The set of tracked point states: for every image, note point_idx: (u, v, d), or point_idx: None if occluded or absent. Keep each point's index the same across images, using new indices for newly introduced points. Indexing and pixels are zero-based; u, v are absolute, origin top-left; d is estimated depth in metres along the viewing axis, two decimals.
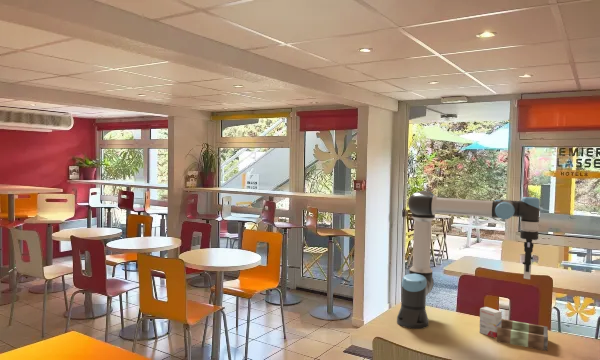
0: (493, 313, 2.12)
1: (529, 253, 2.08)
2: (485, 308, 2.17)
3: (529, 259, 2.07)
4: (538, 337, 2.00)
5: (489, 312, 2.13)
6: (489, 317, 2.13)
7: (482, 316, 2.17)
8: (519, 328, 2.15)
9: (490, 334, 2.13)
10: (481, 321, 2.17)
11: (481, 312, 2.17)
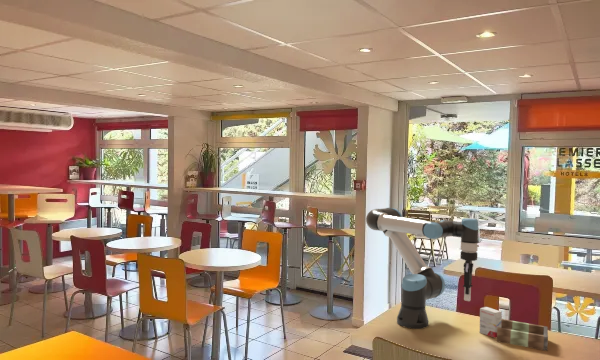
0: (493, 313, 2.12)
1: (468, 278, 2.15)
2: (485, 308, 2.17)
3: (468, 283, 2.16)
4: (538, 337, 2.00)
5: (489, 312, 2.13)
6: (489, 317, 2.13)
7: (481, 316, 2.17)
8: (519, 328, 2.15)
9: (490, 334, 2.13)
10: (481, 321, 2.17)
11: (481, 312, 2.17)
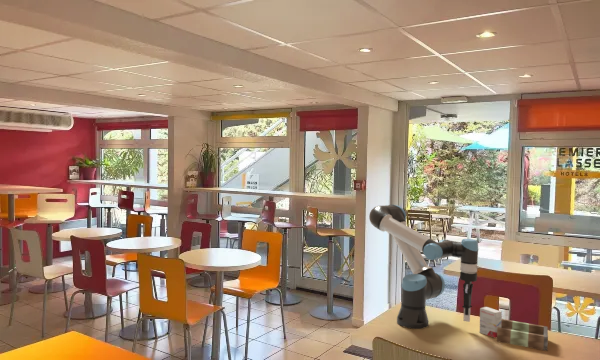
0: (493, 313, 2.12)
1: (467, 299, 2.16)
2: (485, 308, 2.17)
3: (467, 304, 2.16)
4: (538, 337, 2.00)
5: (489, 312, 2.13)
6: (489, 317, 2.13)
7: (482, 316, 2.17)
8: (519, 328, 2.15)
9: (490, 334, 2.13)
10: (481, 321, 2.17)
11: (481, 312, 2.17)
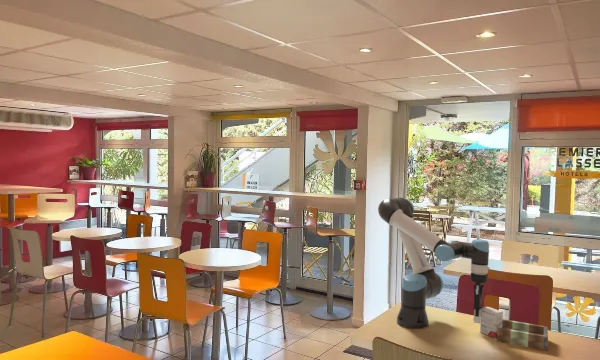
0: (494, 313, 2.11)
1: (478, 300, 2.13)
2: (486, 308, 2.17)
3: (478, 306, 2.14)
4: (538, 337, 2.00)
5: (490, 312, 2.13)
6: (490, 317, 2.13)
7: (482, 315, 2.16)
8: (519, 328, 2.15)
9: (491, 334, 2.13)
10: (482, 321, 2.17)
11: (482, 312, 2.17)
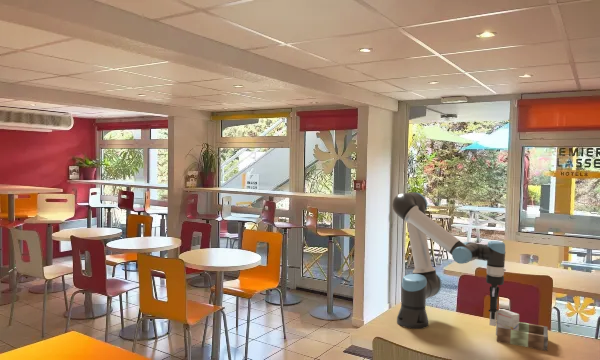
0: (510, 316, 2.08)
1: (494, 302, 2.10)
2: (502, 310, 2.14)
3: (494, 308, 2.11)
4: (538, 337, 2.00)
5: (506, 314, 2.10)
6: (506, 319, 2.10)
7: (498, 318, 2.13)
8: (519, 328, 2.15)
9: None
10: (498, 323, 2.14)
11: (498, 314, 2.14)
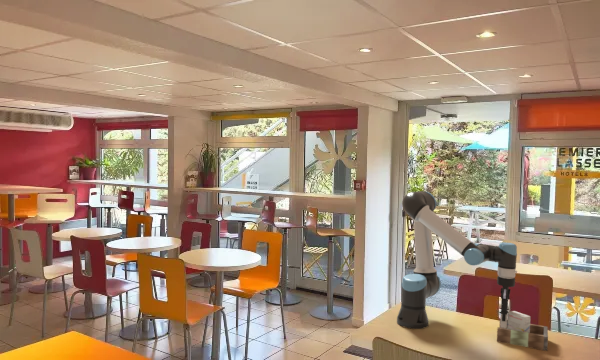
0: (521, 317, 2.06)
1: (505, 305, 2.08)
2: (513, 312, 2.12)
3: (505, 310, 2.09)
4: (538, 337, 2.00)
5: (517, 316, 2.08)
6: (517, 321, 2.08)
7: (509, 320, 2.11)
8: None
9: None
10: (508, 325, 2.12)
11: (509, 316, 2.12)
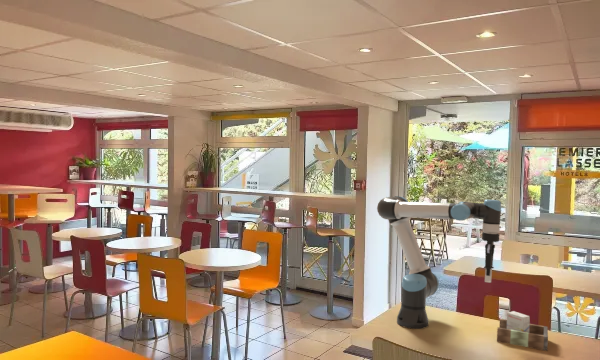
0: (521, 318, 2.06)
1: (489, 259, 2.14)
2: (512, 312, 2.12)
3: (489, 264, 2.15)
4: (538, 337, 2.00)
5: (516, 317, 2.08)
6: (516, 322, 2.08)
7: (509, 320, 2.11)
8: None
9: None
10: (508, 326, 2.12)
11: (508, 316, 2.12)
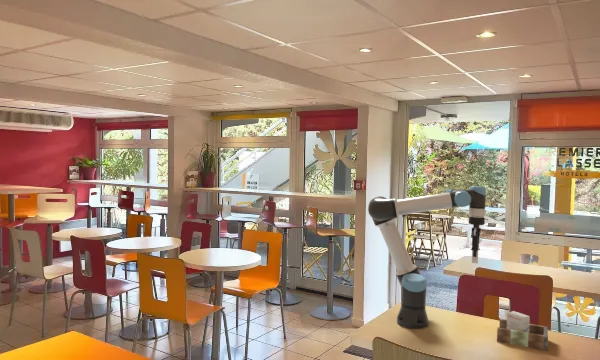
0: (521, 318, 2.06)
1: (475, 241, 2.30)
2: (512, 312, 2.12)
3: (476, 246, 2.30)
4: (538, 337, 2.00)
5: (516, 317, 2.08)
6: (516, 322, 2.08)
7: (509, 320, 2.11)
8: None
9: None
10: (508, 326, 2.12)
11: (508, 316, 2.12)
